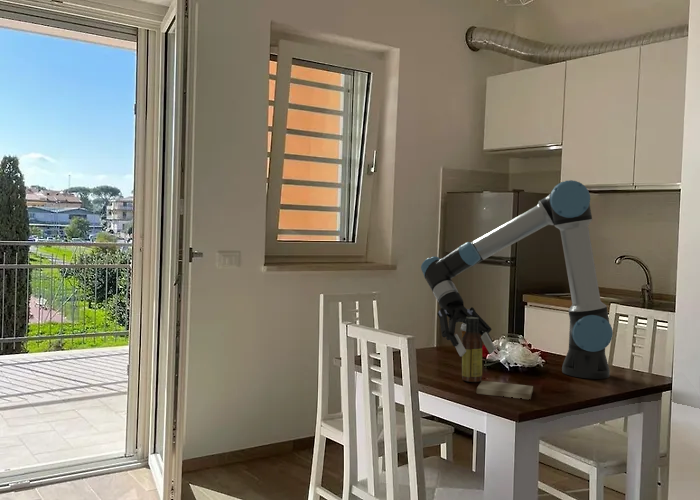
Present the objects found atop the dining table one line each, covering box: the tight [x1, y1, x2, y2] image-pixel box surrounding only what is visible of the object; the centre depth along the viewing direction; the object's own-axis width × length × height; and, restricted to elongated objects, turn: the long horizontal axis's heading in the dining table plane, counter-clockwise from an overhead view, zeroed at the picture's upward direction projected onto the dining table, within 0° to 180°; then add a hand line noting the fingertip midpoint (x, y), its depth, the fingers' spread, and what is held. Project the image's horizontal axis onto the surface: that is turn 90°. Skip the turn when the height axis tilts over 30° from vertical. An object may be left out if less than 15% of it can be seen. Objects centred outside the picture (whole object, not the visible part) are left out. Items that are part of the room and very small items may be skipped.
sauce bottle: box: [461, 317, 483, 383], centre depth 208 cm, size 7×6×20 cm
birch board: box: [476, 380, 534, 400], centre depth 195 cm, size 15×11×2 cm
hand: (478, 352), depth 206 cm, fingers open, 11 cm apart
